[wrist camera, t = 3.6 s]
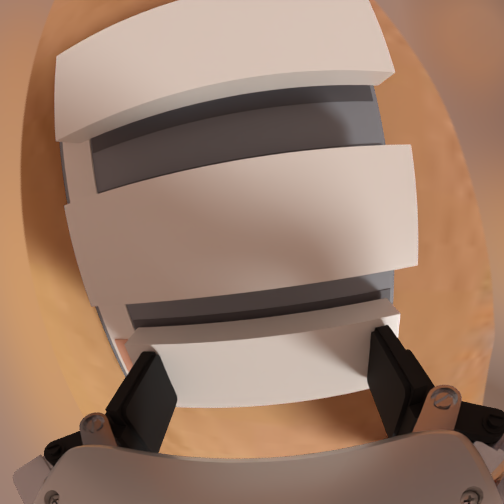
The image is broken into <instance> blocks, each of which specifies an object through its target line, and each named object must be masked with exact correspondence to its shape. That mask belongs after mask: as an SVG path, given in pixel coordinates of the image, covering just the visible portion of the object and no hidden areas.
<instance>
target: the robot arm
mask: <svg viewBox="0 0 504 504" xmlns="http://www.w3.org/2000/svg"><path fill="white" fill-rule="evenodd" d="M367 383H368V386H369V388H370V391H371V393H372V396H373V398H374V401H375V403H376V406H377V409H378V411H379V414H380V416H381V419H382V422H383V424H384V427H385V430H386V432H387V435H388V438H387V439H383V440H379V441H375V442H371V443H367V444H362V445H357V446H353V447H348V448H342V449H337V450H332V451H326V452H319V453H312V454H304V455H296V456H285V457H272V458H249V459H224V458H200V457H187V456H177V455H168V454H161V453H158V452H159V450H160V447H161V444H162V441H163V439H164V436H165V433H166V431H167V428H168V425H169V422H170V420H171V417H172V414H173V412H174V409H175V406H176V404H177V395H176V392H175V390H174V388H173V386H172V384H171V381H170V379H169V377H168V374H167V372H166V370H165V367H164V365H163V362H162V360H161V357H160V356H159V355H158V354H156V352H154V351H143V352H142V353H141V354H140V356H139V357H138V359H137V360H136V362H135V364H134V365H133V367H132V368H131V370H130V371H129V373H128V374H127V376H126V378H125V379H124V381H123V382H122V384H121V385H120V387H119V389H118V390H117V392H116V393H115V395H114V397H113V398H112V400H111V401H110V403H109V405H108V406H107V408H106V409H105V410H106V411H107V412H106V414H105V415H104V414H102V413H91V414H89V415H87V416H86V417H84V418H83V419H82V421H81V423H80V431H78V432H76V433H73V434H71V435H68V436H65V437H63V438H60V439H57V440H55V441H53V442H50V443H49V444H48V445H47V446H46V448H45V450H44V456H42V455H39V456H38V457H36V458H35V459H33V460H32V461H30V462H29V463H27V464H25V465H24V466H22V467H21V468H19V469H18V470H17V471H16V472H15V473H14V475H13V481H14V484H15V486H16V488H17V490H18V493H19V495H20V497H21V499H22V500H23V502H24V504H504V412H503V411H502V410H499V409H496V408H491V407H486V406H481V405H476V404H472V403H468V402H463V401H461V394H460V392H459V391H458V390H457V389H456V388H454V387H453V386H449V385H439V386H436V387H435V386H434V385H433V383H432V382H431V380H430V378H429V377H428V375H427V374H426V372H425V371H424V369H423V368H422V366H421V365H420V363H419V362H418V360H417V359H416V358H415V356H414V355H413V353H412V352H411V351H410V350H408V349H407V350H405V348H404V347H403V345H402V344H401V342H400V341H399V339H398V338H397V336H396V335H395V334H394V332H393V331H392V329H391V328H390V327H389V325H385V326H380V327H376V328H375V331H372V332H371V339H370V352H369V363H368V373H367Z"/></svg>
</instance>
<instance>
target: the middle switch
mask: <svg viewBox="0 0 504 504" xmlns="http://www.w3.org/2000/svg"><path fill="white" fill-rule="evenodd" d="M64 209H65V214H66V219H67V224H68V228H69V233H70V237H71V241H72V245H73V249H74V253H75V256H76V260H77V264H78V267H79V270H80V274H81V277H82V280H83V283H84V286H85V289H86V292H87V295H88V298H89V301H90V304H91V307H93V306H109V305H123V304H137V303H149V302H161V301H172V300H182V299H192V298H202V297H211V296H220V295H229V294H237V293H246V292H254V291H261V290H269V289H277V288H284V287H291V286H298V285H305V284H312V283H318V282H325V281H331V280H338V279H344V278H350V277H356V276H362V275H368V274H373V273H379V272H385V271H390V270H396V269H401V268H406V267H411V266H417V265H418V213H417V195H416V183H415V173H414V164H413V156H412V149H411V145H375V146H355V147H341V148H328V149H317V150H308V151H299V152H290V153H282V154H275V155H268V156H261V157H255V158H248V159H242V160H236V161H231V162H225V163H220V164H215V165H209V166H204V167H200V168H195V169H190V170H186V171H181V172H177V173H172V174H168V175H164V176H160V177H156V178H152V179H148V180H144V181H141V182H137V183H133V184H130V185H126V186H123V187H119V188H116V189H112V190H109V191H106V192H102V193H99V194H96V195H93V196H90V197H87V198H84V199H81V200H78V201H75V202H72V203H69V204H66V205H64Z"/></svg>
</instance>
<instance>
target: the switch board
mask: <svg viewBox="0 0 504 504" xmlns="http://www.w3.org/2000/svg"><path fill="white" fill-rule="evenodd" d="M375 145H385V139H384V133H383V128H382V122H381V117H380V112H379V107H378V103H377V98H376V94H375V90H374V86H373V85H325V86H308V87H295V88H285V89H276V90H268V91H260V92H254V93H247V94H241V95H236V96H230V97H225V98H220V99H215V100H210V101H206V102H201V103H197V104H193V105H189V106H185V107H181V108H178V109H174V110H170V111H167V112H163V113H160V114H157V115H154V116H150V117H147V118H144V119H141V120H138V121H135V122H132V123H129V124H127V125H124V126H121V127H118V128H116V129H113V130H111V131H108V132H105V133H103V134H100V135H98V136H96V137H93V138H91V139H89V140H86V141H84V142H82V143H69V142H60V153H61V162H62V171H63V178H64V185H65V192H66V198H67V203H68V204H69V203H72V202H75V201H78V200H81V199H84V198H87V197H90V196H93V195H96V194H99V193H102V192H106V191H109V190H112V189H116V188H119V187H123V186H126V185H130V184H133V183H137V182H141V181H144V180H148V179H152V178H156V177H160V176H164V175H168V174H172V173H177V172H181V171H186V170H190V169H195V168H200V167H204V166H209V165H215V164H220V163H225V162H231V161H236V160H242V159H248V158H255V157H261V156H268V155H275V154H282V153H290V152H299V151H308V150H317V149H328V148H341V147H355V146H375ZM393 292H394V270H390V271H385V272H379V273H373V274H368V275H362V276H356V277H350V278H344V279H338V280H331V281H325V282H318V283H312V284H305V285H298V286H291V287H284V288H277V289H269V290H261V291H254V292H246V293H237V294H229V295H220V296H211V297H202V298H192V299H182V300H172V301H161V302H149V303H137V304H123V305H109V306H95V307H96V310H97V312H98V315H99V318H100V320H101V323H102V325H103V328H104V330H105V333H106V335H107V338H108V340H109V342H110V345H111V347H112V349H113V351H114V354H115V356H116V358H117V360H118V362H119V364H120V367H121V369H122V371H123V373H124V375H125V377H126V376H127V374H128V373H129V371H130V370H131V368H132V367H133V363H132V361H131V359H130V357H129V354H128V352H127V350H126V347H125V345H124V344H125V343H126V342H127V341H128V339H129V338H130V337H131V335H132V334H133V333H134V332H135V330H136V329H137V328H139V327H162V326H179V325H194V324H206V323H218V322H229V321H239V320H248V319H257V318H265V317H273V316H281V315H289V314H296V313H303V312H309V311H316V310H322V309H328V308H334V307H340V306H346V305H352V304H357V303H362V302H368V301H373V300H378V299H383V298H387V299H388V300H389V301H390V302H391V303H392V305H393Z"/></svg>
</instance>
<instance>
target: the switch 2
mask: <svg viewBox="0 0 504 504" xmlns="http://www.w3.org/2000/svg"><path fill="white" fill-rule="evenodd" d="M399 323H400V313H399V311H398V310H397V309H396V308H395V307H394V306H393V305H392V303H391V302H390V301H389V300H388V299H387V298H383V299H378V300H373V301H368V302H362V303H357V304H352V305H346V306H340V307H334V308H328V309H322V310H316V311H309V312H303V313H296V314H289V315H281V316H273V317H265V318H257V319H248V320H239V321H229V322H218V323H206V324H194V325H179V326H162V327H139V328H137V329H136V330H135V332H134V333H133V334H132V335H131V337H130V338H129V339H128V341H127V342H126V343H125V344H124V345H125V347H126V350H127V352H128V354H129V357H130V359H131V361H132V363H133V365H134V364H135V362H136V360H137V359H138V357H139V356H140V354H141V353H142V352H143V351H154V352H156V354H158V355H159V356H160V357H161V360H162V362H163V365H164V367H165V370H166V372H167V374H168V377H169V379H170V381H171V384H172V386H173V388H174V390H175V392H176V395H177V404H176V406H175V407H189V408H226V407H249V406H264V405H275V404H284V403H293V402H301V401H308V400H315V399H321V398H327V397H332V396H338V395H343V394H348V393H352V392H357V391H361V390H366V389H370V388H369V386H368V383H367V373H368V363H369V352H370V339H371V332H372V331H375V328H376V327H380V326H385V325H389V327H390V328H391V329H392V331H393V332H394V334H395V335H396V336H397V338H398V332H399Z"/></svg>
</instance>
